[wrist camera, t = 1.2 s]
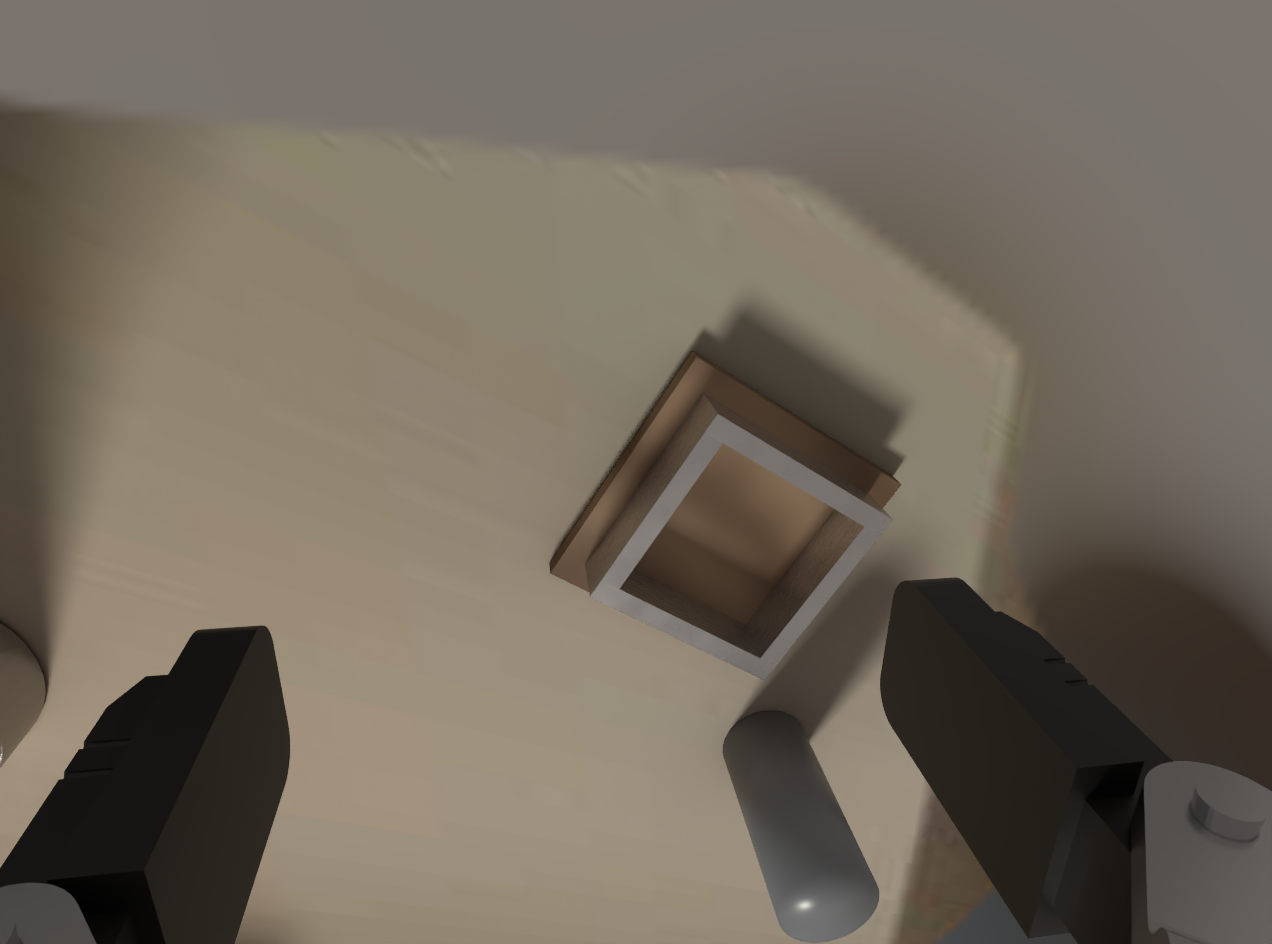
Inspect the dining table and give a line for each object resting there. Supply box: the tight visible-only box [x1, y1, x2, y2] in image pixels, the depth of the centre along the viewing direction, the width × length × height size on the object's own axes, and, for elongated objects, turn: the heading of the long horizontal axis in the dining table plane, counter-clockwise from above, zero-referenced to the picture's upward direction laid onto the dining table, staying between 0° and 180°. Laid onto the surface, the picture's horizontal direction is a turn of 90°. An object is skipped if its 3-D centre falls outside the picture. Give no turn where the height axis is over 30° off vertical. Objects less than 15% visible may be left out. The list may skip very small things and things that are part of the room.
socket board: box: [549, 351, 901, 625], centre depth 42 cm, size 13×13×1 cm
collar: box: [585, 393, 893, 680], centre depth 41 cm, size 10×10×3 cm
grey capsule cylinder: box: [723, 711, 879, 943], centre depth 44 cm, size 5×5×11 cm
